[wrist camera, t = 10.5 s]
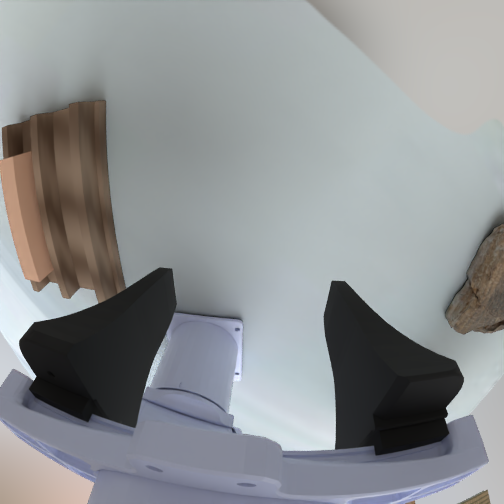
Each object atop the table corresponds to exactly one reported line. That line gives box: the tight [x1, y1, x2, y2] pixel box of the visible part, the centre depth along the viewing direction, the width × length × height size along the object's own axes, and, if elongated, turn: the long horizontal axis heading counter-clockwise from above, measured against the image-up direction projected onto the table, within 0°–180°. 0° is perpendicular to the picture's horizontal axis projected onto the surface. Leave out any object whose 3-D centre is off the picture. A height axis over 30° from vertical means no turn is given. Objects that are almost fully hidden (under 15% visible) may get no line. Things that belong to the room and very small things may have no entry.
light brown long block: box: [0, 151, 54, 282], centre depth 20 cm, size 12×2×4 cm, turn 178°
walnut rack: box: [2, 101, 126, 303], centre depth 21 cm, size 18×12×3 cm, turn 178°
